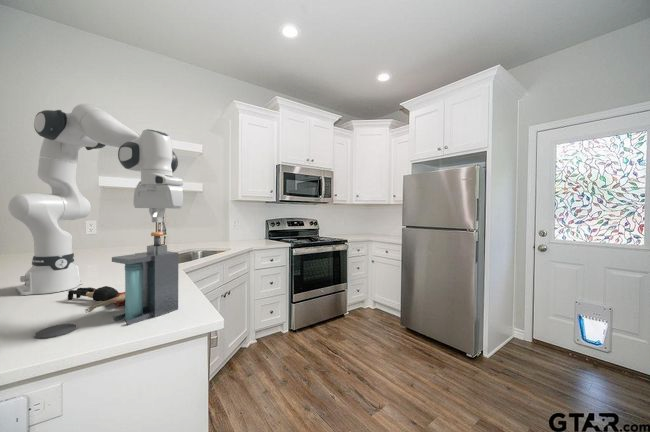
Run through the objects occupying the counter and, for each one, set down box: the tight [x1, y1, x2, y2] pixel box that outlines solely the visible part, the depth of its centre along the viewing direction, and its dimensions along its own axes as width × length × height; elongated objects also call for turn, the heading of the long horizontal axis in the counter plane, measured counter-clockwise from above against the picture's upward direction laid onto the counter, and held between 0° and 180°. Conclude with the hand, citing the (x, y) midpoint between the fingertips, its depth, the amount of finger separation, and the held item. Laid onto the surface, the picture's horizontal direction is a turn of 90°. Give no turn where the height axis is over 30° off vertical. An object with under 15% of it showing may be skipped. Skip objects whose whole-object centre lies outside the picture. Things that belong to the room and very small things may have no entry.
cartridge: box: [124, 262, 143, 321], centre depth 83 cm, size 5×5×17 cm
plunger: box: [150, 231, 164, 246], centre depth 89 cm, size 3×3×4 cm
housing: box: [111, 243, 179, 326], centre depth 86 cm, size 10×15×22 cm, turn 155°
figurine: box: [67, 285, 125, 314], centre depth 97 cm, size 29×6×30 cm
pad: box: [34, 322, 77, 340], centre depth 74 cm, size 8×8×1 cm
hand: (157, 222), depth 89 cm, fingers closed
